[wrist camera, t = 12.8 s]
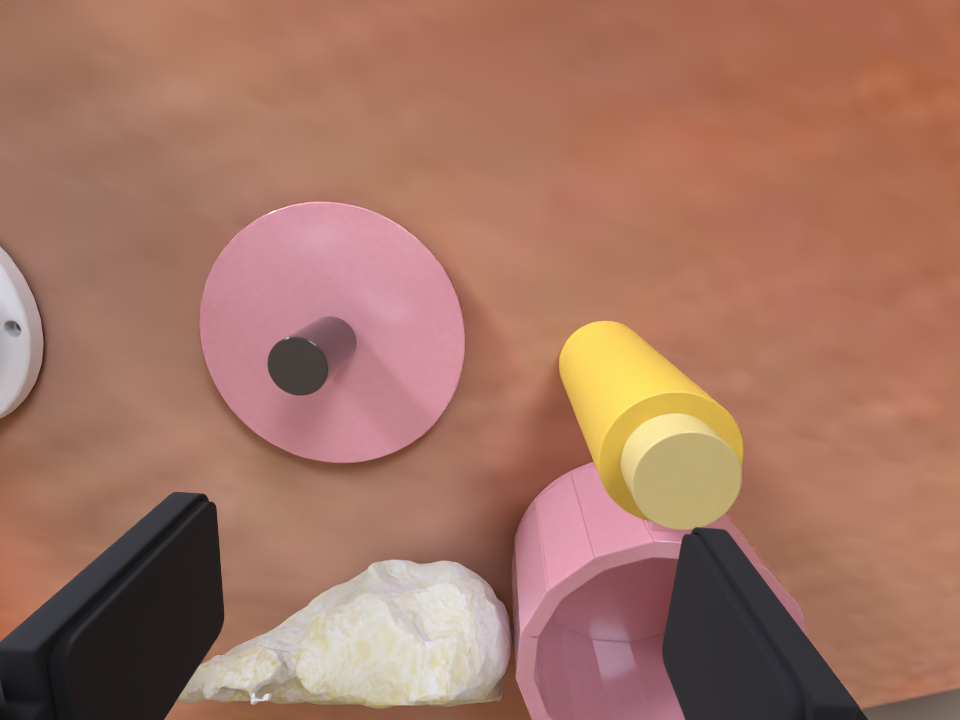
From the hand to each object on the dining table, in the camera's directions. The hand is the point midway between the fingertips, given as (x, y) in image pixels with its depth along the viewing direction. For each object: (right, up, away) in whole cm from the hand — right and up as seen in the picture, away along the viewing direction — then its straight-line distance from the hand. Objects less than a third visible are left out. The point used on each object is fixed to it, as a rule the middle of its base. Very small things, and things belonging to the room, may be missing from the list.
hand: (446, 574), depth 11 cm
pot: (+9, -7, +20) cm, 23 cm away
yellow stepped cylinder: (+7, +4, +18) cm, 19 cm away
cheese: (-6, -11, +22) cm, 25 cm away
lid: (-7, +5, +17) cm, 19 cm away
